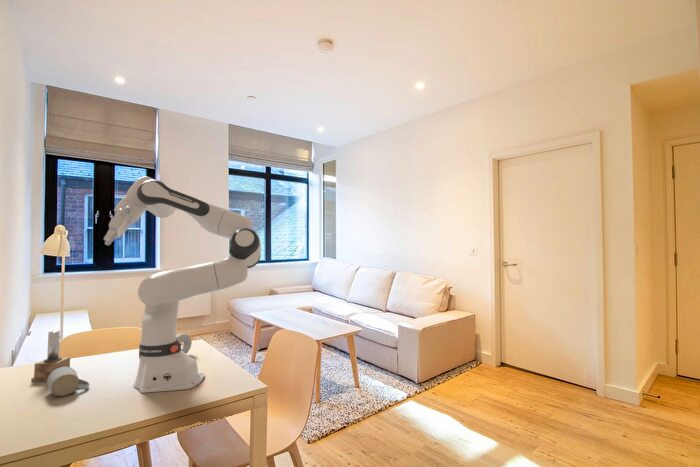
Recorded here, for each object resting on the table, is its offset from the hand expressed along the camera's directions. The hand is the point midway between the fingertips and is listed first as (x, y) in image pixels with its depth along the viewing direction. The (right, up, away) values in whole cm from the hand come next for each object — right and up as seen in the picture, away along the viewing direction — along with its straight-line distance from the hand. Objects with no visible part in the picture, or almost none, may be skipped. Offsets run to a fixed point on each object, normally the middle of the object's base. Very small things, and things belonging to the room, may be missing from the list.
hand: (106, 242), depth 129 cm
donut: (+17, -51, +22) cm, 58 cm away
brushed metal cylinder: (-18, -43, -3) cm, 46 cm away
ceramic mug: (-2, -49, -15) cm, 52 cm away
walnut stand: (-18, -49, -3) cm, 52 cm away
